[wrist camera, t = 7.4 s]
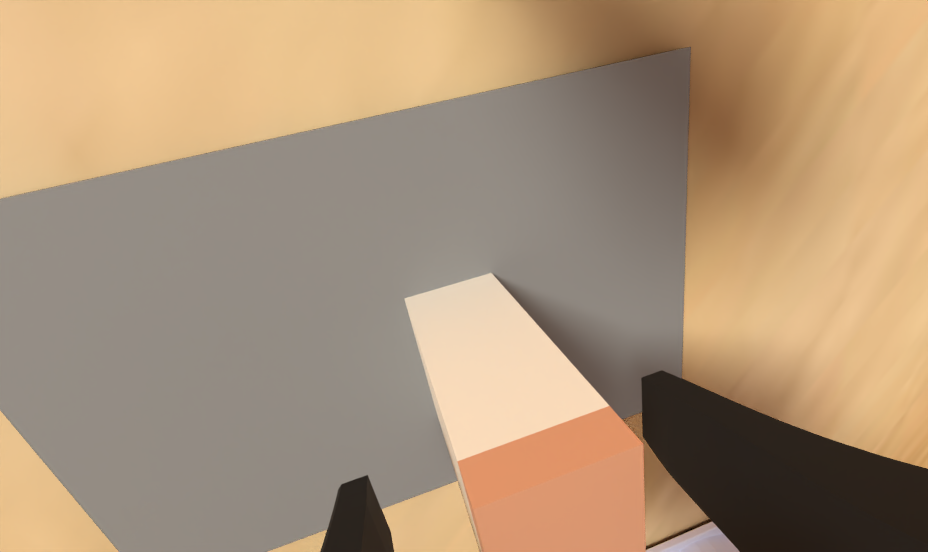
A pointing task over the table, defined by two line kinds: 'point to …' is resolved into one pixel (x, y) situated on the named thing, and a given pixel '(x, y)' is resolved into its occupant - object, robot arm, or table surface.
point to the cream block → (526, 428)
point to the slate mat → (332, 298)
